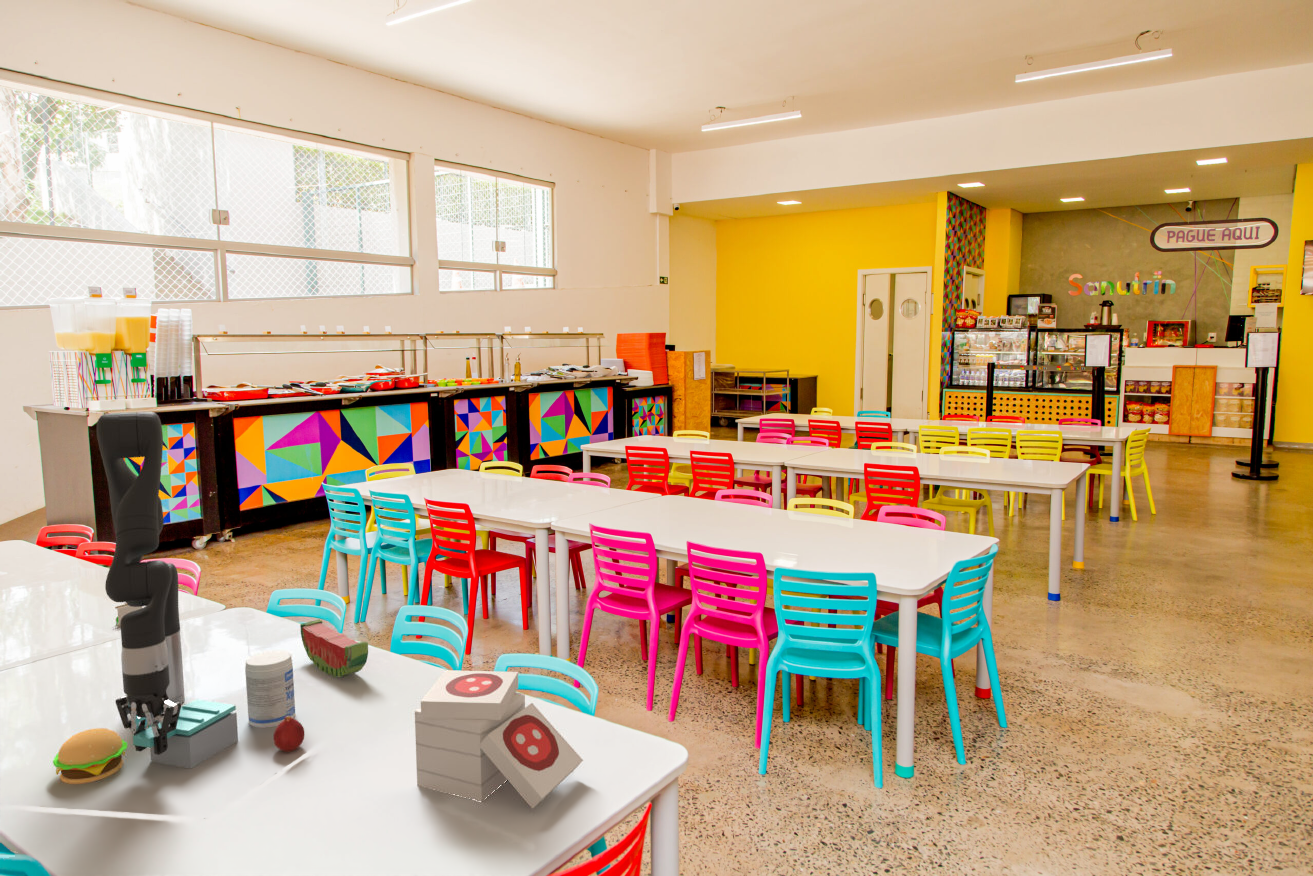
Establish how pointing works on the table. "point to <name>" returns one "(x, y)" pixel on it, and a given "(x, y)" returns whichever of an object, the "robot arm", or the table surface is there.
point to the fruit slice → (333, 649)
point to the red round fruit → (289, 734)
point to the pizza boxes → (487, 739)
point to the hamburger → (90, 756)
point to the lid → (188, 720)
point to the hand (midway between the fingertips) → (151, 750)
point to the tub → (199, 743)
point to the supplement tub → (269, 688)
